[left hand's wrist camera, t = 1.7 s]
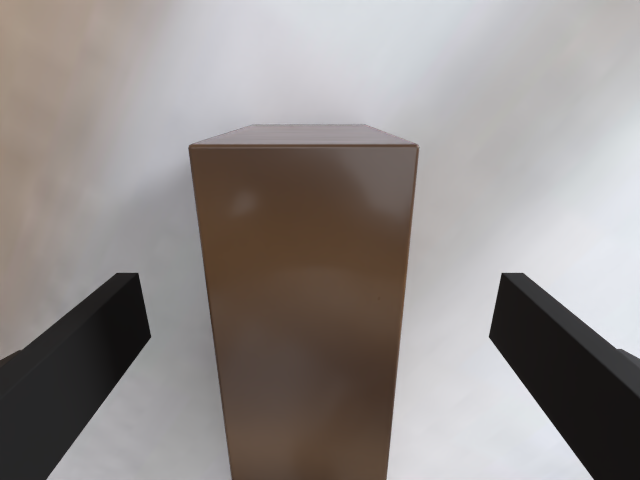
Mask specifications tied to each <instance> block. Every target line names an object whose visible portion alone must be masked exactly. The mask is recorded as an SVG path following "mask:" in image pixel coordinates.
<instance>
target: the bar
mask: <svg viewBox="0 0 640 480" xmlns="http://www.w3.org/2000/svg"><path fill="white" fill-rule="evenodd" d="M188 149H189V156H190V164H191V172H192V179H193V187H194V195H195V202H196V210H197V217H198V225H199V233H200V240H201V248H202V256H203V263H204V271H205V279H206V286H207V294H208V302H209V309H210V317H211V325H212V332H213V340H214V348H215V355H216V363H217V370H218V378H219V386H220V393H221V401H222V409H223V416H224V424H225V432H226V439H227V447H228V455H229V462H230V470H231V478H232V480H386V479H387V469H388V459H389V449H390V439H391V429H392V419H393V408H394V398H395V388H396V378H397V368H398V358H399V348H400V338H401V327H402V317H403V307H404V297H405V287H406V277H407V267H408V256H409V246H410V236H411V226H412V216H413V206H414V196H415V185H416V175H417V165H418V155H419V145H418V144H415V143H413V142H410V141H407V140H405V139H402V138H399V137H397V136H394V135H391V134H389V133H386V132H383V131H381V130H378V129H375V128H373V127H370V126H367V125H250V126H247V127H244V128H241V129H238V130H234V131H231V132H228V133H225V134H222V135H219V136H216V137H212V138H209V139H206V140H203V141H200V142H197V143H194V144H191V145H189V148H188Z"/></svg>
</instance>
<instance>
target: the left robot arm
mask: <svg viewBox="0 0 640 480" xmlns="http://www.w3.org/2000/svg"><path fill="white" fill-rule="evenodd" d="M150 338H151V334H150V329H149V324H148V319H147V314H146V309H145V304H144V299H143V294H142V289H141V284H140V279H139V275H138V273H116V274H115V275H114V276H113V277H111V278H110V279H109V280H108V281H106V282H105V283H104V284H103V285H102V286H100V287H99V288H98V289H97V290H95V291H94V292H93V293H92V294H90V295H89V296H88V297H87V298H86V299H84V300H83V301H82V302H81V303H79V304H78V305H77V306H76V307H74V308H73V309H72V310H71V311H70V312H68V313H67V314H66V315H65V316H63V317H62V318H61V319H60V320H58V321H57V322H56V323H55V324H54V325H52V326H51V327H50V328H49V329H47V330H46V331H45V332H44V333H43V334H41V335H40V336H39V337H38V338H36V339H35V340H34V341H33V342H31V343H30V344H29V345H28V346H27V347H25V348H24V349H23V350H19V351H17V352H15V353H13V354H11V355H9V356H7V357H6V358H4V359H2V360H0V480H46V479H47V478H48V476H49V475H50V474H51V472H52V471H53V469H54V468H55V467H56V465H57V464H58V463H59V461H60V460H61V459H62V457H63V456H64V455H65V453H66V452H67V450H68V449H69V448H70V446H71V445H72V444H73V442H74V441H75V440H76V438H77V437H78V436H79V434H80V433H81V431H82V430H83V429H84V427H85V426H86V425H87V423H88V422H89V421H90V419H91V418H92V417H93V415H94V414H95V413H96V411H97V410H98V408H99V407H100V406H101V404H102V403H103V402H104V400H105V399H106V398H107V396H108V395H109V394H110V392H111V391H112V389H113V388H114V387H115V385H116V384H117V383H118V381H119V380H120V379H121V377H122V376H123V375H124V373H125V372H126V370H127V369H128V368H129V366H130V365H131V364H132V362H133V361H134V360H135V358H136V357H137V356H138V354H139V353H140V351H141V350H142V349H143V347H144V346H145V345H146V343H147V342H148V341H149V339H150ZM489 338H490V339H491V341H492V342H493V343H494V345H495V346H496V347H497V349H498V350H499V351H500V353H501V354H502V356H503V357H504V358H505V360H506V361H507V362H508V364H509V365H510V366H511V368H512V369H513V370H514V372H515V373H516V375H517V376H518V377H519V379H520V380H521V381H522V383H523V384H524V385H525V387H526V388H527V389H528V391H529V392H530V394H531V395H532V396H533V398H534V399H535V400H536V402H537V403H538V404H539V406H540V407H541V408H542V410H543V411H544V413H545V414H546V415H547V417H548V418H549V419H550V421H551V422H552V423H553V425H554V426H555V427H556V429H557V430H558V431H559V433H560V434H561V436H562V437H563V438H564V440H565V441H566V442H567V444H568V445H569V446H570V448H571V449H572V450H573V452H574V453H575V455H576V456H577V457H578V459H579V460H580V461H581V463H582V464H583V465H584V467H585V468H586V469H587V471H588V472H589V474H590V475H591V476H592V478H593V479H594V480H640V359H639V358H637V357H635V356H633V355H632V354H630V353H628V352H626V351H624V350H622V349H616V348H615V347H613V346H612V345H611V344H610V343H609V342H607V341H606V340H605V339H604V338H602V337H601V336H600V335H599V334H597V333H596V332H595V331H594V330H593V329H591V328H590V327H589V326H588V325H586V324H585V323H584V322H583V321H582V320H580V319H579V318H578V317H577V316H575V315H574V314H573V313H572V312H570V311H569V310H568V309H567V308H566V307H564V306H563V305H562V304H561V303H559V302H558V301H557V300H556V299H554V298H553V297H552V296H551V295H550V294H548V293H547V292H546V291H545V290H543V289H542V288H541V287H540V286H538V285H537V284H536V283H535V282H534V281H532V280H531V279H530V278H529V277H527V276H526V275H525V274H524V273H502V275H501V279H500V284H499V289H498V294H497V299H496V304H495V309H494V314H493V319H492V324H491V329H490V334H489Z"/></svg>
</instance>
